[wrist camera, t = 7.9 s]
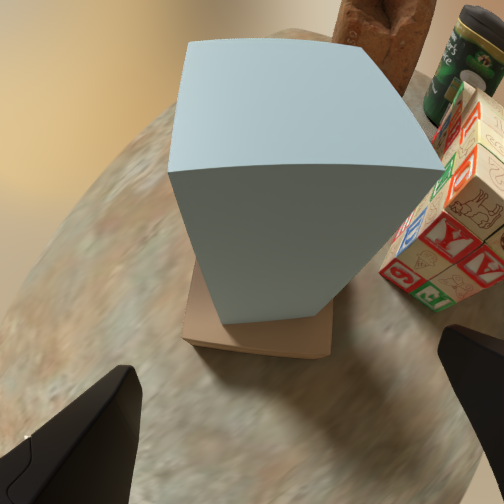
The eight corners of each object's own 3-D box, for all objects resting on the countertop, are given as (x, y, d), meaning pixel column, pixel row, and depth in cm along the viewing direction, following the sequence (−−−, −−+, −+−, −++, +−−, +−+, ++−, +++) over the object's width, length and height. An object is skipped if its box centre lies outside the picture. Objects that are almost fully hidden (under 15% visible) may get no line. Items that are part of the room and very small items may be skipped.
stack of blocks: (431, 136, 28) (474, 59, 17) (471, 165, 27) (520, 95, 15) (376, 274, 20) (476, 171, 9) (435, 316, 19) (554, 249, 8)
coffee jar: (424, 90, 33) (463, -6, 16) (466, 118, 31) (514, 28, 14) (416, 116, 29) (468, -2, 12) (466, 149, 28) (531, 42, 11)
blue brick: (314, 316, 15) (445, 169, 4) (221, 324, 15) (167, 172, 4) (300, 234, 17) (361, 47, 7) (217, 240, 17) (189, 42, 6)
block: (337, 87, 30) (370, -56, 12) (393, 113, 29) (446, -27, 11) (302, 130, 26) (338, -68, 8) (373, 164, 25) (453, -28, 7)
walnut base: (315, 359, 18) (330, 354, 14) (192, 345, 18) (180, 337, 15) (321, 248, 21) (333, 224, 18) (212, 235, 21) (207, 208, 18)
